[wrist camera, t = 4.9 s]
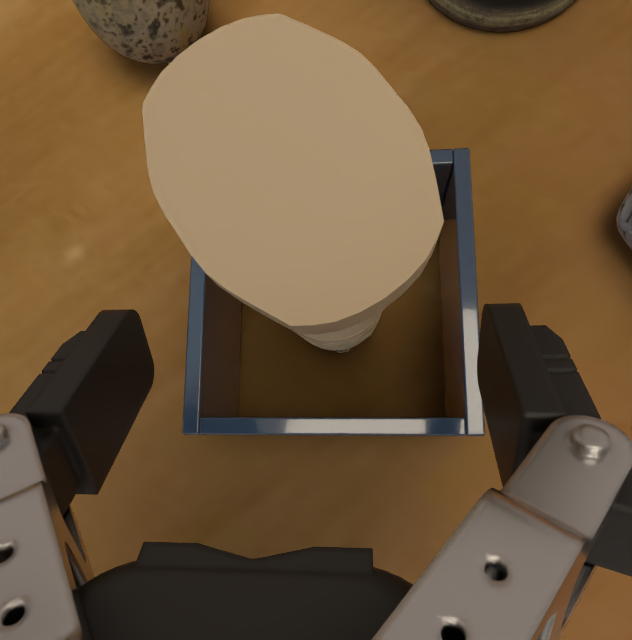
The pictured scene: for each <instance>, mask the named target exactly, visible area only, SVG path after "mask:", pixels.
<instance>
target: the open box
mask: <svg viewBox="0 0 632 640" xmlns="http://www.w3.org/2000/svg"><path fill="white" fill-rule="evenodd" d="M430 154H431V159H432V163H433V168H434V172H435V177H436V181H437V186H438V192H439V197H440V202H441V207H442V213H443V218H444V223H443V226H442V229H441V232H440V235H439V258H440V283H441V307H442V332H443V356H444V381H445V405H446V417H238V406H239V374H240V342H241V310H242V302H241V301H239V300H238V299H237V298H235V297H234V296H232V295H231V294H229V293H228V292H227V291H225V290H224V289H222V288H221V287H219V286H218V285H217V284H216V283H215V282H214V281H213V280H212V279H211V278H210V277H209V276H208V275H207V274H206V273H205V272H204V271H203V269H202V268H201V267H200V266H199V264H198V263H197V262H196V260H195V259H194V258H193V257H192V256H191V272H190V292H189V312H188V332H187V352H186V372H185V392H184V412H183V431H182V433H183V434H184V435H355V436H484V435H485V423H484V407H483V403H482V399H481V395H480V391H479V386H478V379H477V357H478V348H479V338H480V331H479V312H478V294H477V275H476V257H475V238H474V220H473V201H472V183H471V165H470V150H469V148H462V149H454V150H452V149H442V150H430Z"/></svg>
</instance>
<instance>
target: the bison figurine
mask: <svg viewBox="0 0 632 640" xmlns="http://www.w3.org/2000/svg"><path fill="white" fill-rule="evenodd" d="M616 221H617V229H618V231H619V233H620V234H621V236H622V238H623V239H624V241H625V242H626V243H627V245H628V246H629V247H630V248H631V250H632V188H631V189H630V191H629V192H628V194H627V195H626V197H625V199H624V200H623V202H622V204H621V206H620V208H619V210H618V213H617V219H616Z"/></svg>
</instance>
